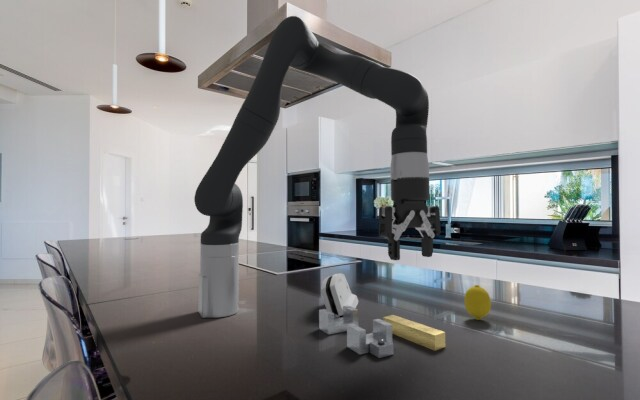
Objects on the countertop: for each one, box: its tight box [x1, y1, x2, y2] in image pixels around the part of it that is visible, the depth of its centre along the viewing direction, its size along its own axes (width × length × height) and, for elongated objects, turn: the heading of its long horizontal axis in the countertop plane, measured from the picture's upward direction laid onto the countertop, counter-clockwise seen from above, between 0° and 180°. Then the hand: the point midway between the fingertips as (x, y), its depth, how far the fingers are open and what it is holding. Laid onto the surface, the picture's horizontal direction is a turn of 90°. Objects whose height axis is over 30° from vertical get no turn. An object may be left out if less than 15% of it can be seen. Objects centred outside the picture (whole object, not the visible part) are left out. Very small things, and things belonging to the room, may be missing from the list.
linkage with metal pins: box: [318, 305, 394, 359], centre depth 67 cm, size 7×21×4 cm, turn 28°
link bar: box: [382, 314, 446, 351], centre depth 67 cm, size 3×13×3 cm, turn 34°
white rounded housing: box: [320, 272, 359, 316], centre depth 87 cm, size 17×5×10 cm, turn 167°
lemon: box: [464, 284, 492, 321], centre depth 78 cm, size 6×6×8 cm
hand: (411, 258), depth 67 cm, fingers open, 8 cm apart
